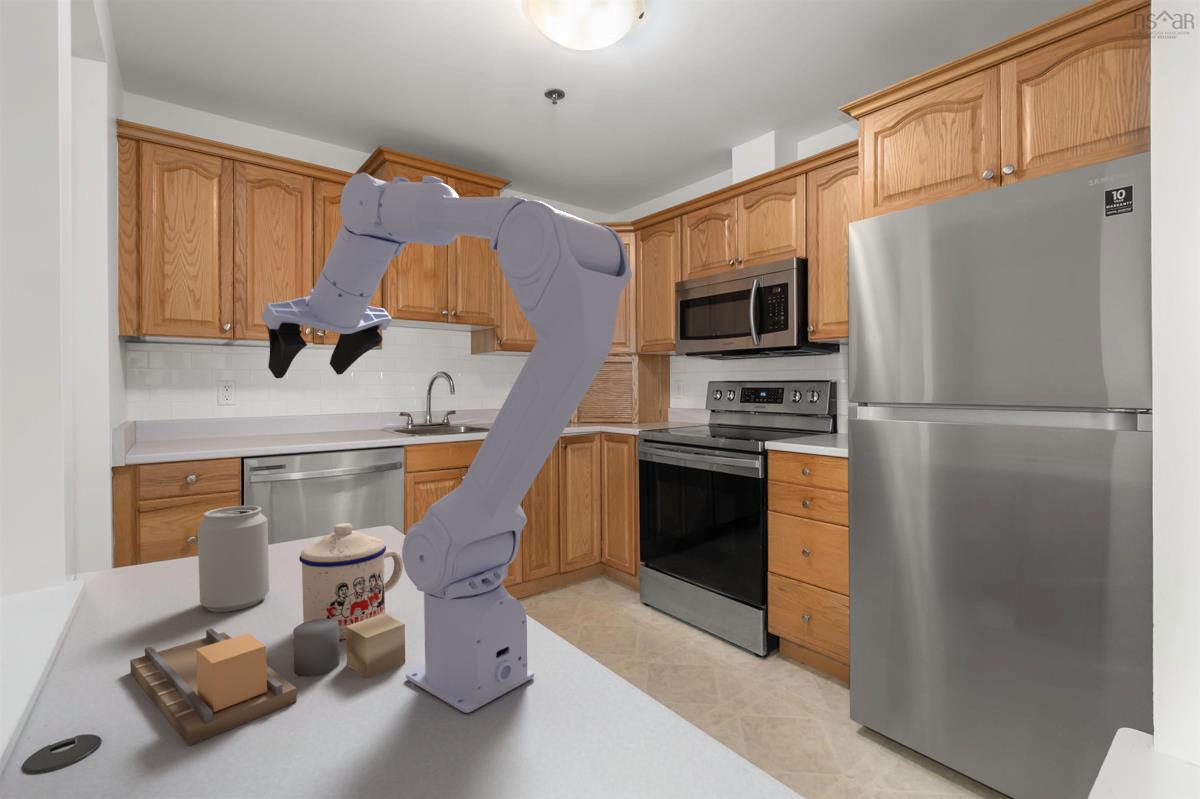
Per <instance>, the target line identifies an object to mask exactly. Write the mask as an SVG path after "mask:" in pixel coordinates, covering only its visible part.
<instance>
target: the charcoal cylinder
mask: <svg viewBox="0 0 1200 799" xmlns="http://www.w3.org/2000/svg"><path fill="white" fill-rule="evenodd" d="M292 635H293V636H292V638H293V641H292V643H293V644H292V645H293V672H294V675H296V676H298V677H300V678H301V677H302V678H314V677H320V676H323V675H325V674H328V673H331V672H332V671H334V670H335V669H336V668H338V667H339V665H340V639H339V628H338V621H336V620H334V619H317V620H312V621H308V622H305V623H300V624H299V625H296V627H294V629H293V630H292Z"/></svg>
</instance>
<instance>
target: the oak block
mask: <svg viewBox="0 0 1200 799" xmlns="http://www.w3.org/2000/svg"><path fill="white" fill-rule="evenodd" d="M405 629H406V626H405V623H404V622H402V621H399V620H397V619H395V618H394V617H391V616H389V615H387V614H386V613H385V614H381V615H378V616H375V617H372V618H369V619H366V620H363V621H360V622H357V623H354V624H352V625H349V626H346V639H345V645H346V652H345V653H346V666H347V667H349V668H350V669H352V670H353V671H355V672H357V673H358V674H360V675H361V676H363V677H364V678H366V679H369V678H372V677H375V676H377V675H379V674H382V673H383V672H386V671H388V670H391V669H393V668H395V667H398V666H401V665H403V664H405V663H406V630H405Z"/></svg>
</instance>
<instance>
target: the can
mask: <svg viewBox="0 0 1200 799" xmlns="http://www.w3.org/2000/svg"><path fill="white" fill-rule="evenodd" d="M262 509H263V508H262V507H261V506H257V505H235V506H225V507H220V508H215V509H211V510H208V511H206V512H204V513H203V517H204V519H203V520H202V521H201V522H200V523H199V524H198V525H197V549H198V550H197V551H198V552H197V554H198V580H199V581H198V585H199V587H198V588H199V604H200V605H201V606H203V607H205V608H207V610H208V611H212V612H217V613H220V612H222V613H223V612H224V613H225V612H231V611H232V612H233V611H238V610H243V609H246V608H249V607H252V606H255V605H257V604H258V603H260V602H261V601H262V600H263V599H264V598H265V597H266V595H267V594H268V593H269V592H270V567H269V566H270V565H269V563H270V562H269V561H270V560H269V559H270V558H269V531H268V529H269V527H268V525H269V524H268V518H267V517H266V516H265V515H263V513H261V511H262Z"/></svg>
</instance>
